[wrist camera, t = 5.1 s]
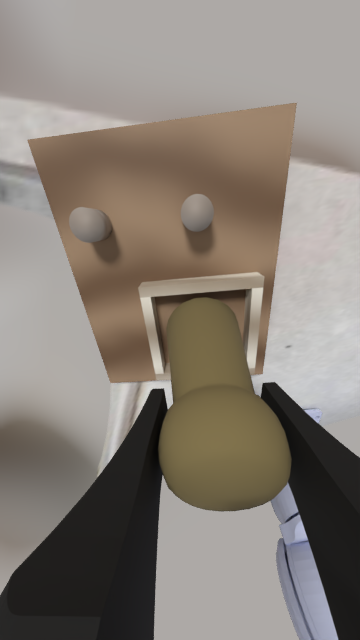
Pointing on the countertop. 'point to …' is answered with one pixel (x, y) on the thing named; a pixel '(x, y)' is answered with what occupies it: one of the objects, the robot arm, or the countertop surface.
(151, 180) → the board
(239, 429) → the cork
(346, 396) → the countertop surface
